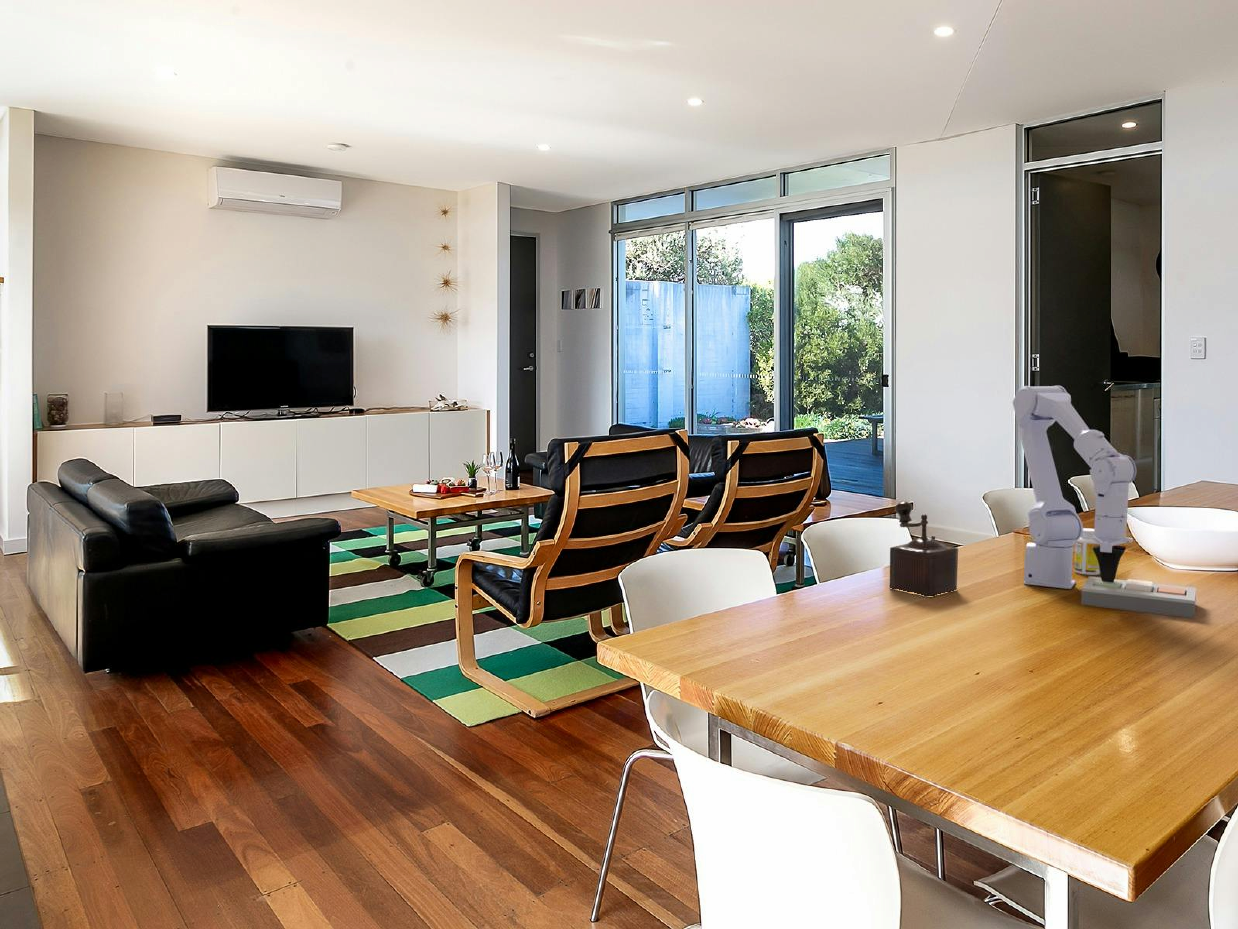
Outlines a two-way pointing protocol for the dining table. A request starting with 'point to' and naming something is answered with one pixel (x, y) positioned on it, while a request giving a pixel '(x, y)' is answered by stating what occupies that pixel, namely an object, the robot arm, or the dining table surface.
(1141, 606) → the keypad base
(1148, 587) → the cream key
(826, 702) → the dining table surface
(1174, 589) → the terracotta key
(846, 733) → the dining table surface
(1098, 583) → the sage key
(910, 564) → the manual coffee grinder
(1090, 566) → the supplement bottle
